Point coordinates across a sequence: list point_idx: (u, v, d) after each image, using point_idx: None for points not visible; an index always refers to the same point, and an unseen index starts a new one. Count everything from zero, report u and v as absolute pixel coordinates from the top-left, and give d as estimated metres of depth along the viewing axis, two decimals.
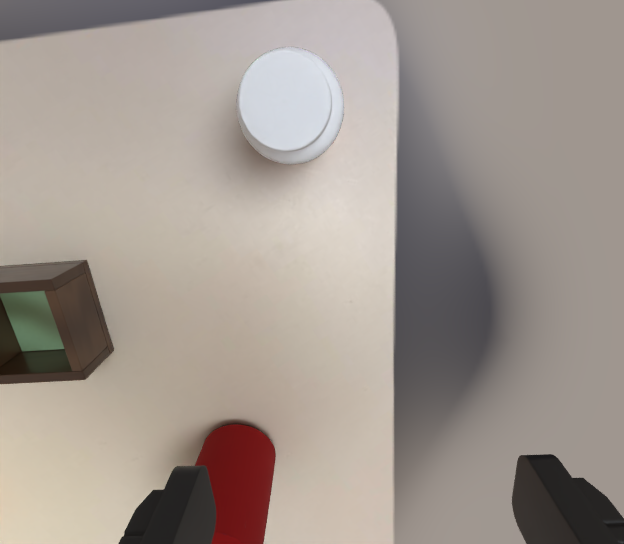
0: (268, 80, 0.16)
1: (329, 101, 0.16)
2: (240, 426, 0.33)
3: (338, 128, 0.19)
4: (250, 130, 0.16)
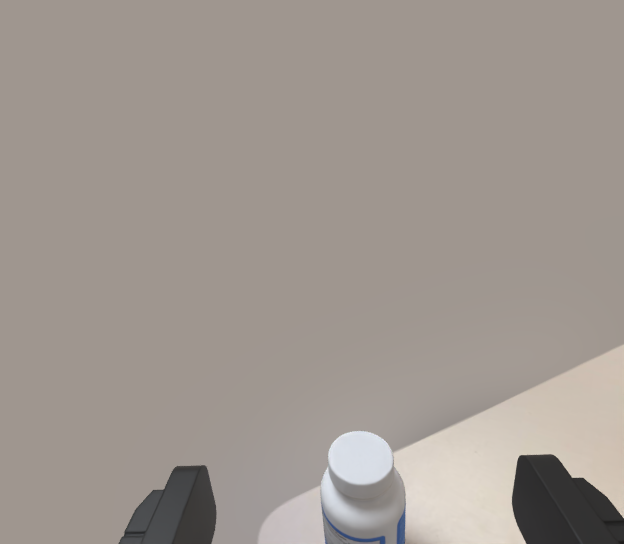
0: (353, 468, 0.22)
1: (346, 433, 0.25)
2: None
3: None
4: (389, 468, 0.22)
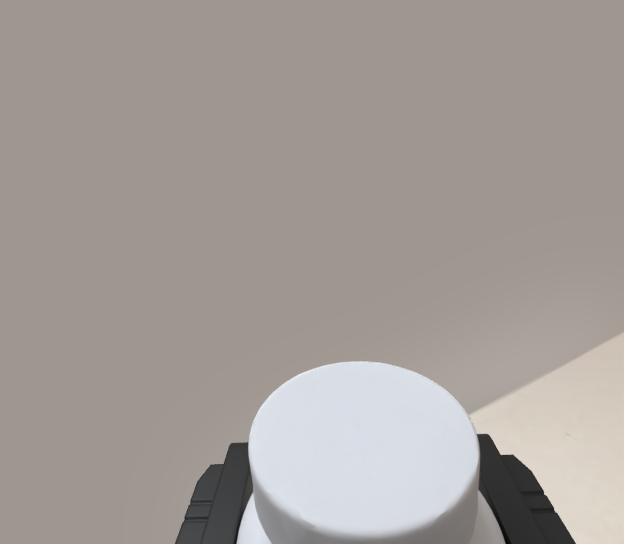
0: (333, 469, 0.06)
1: (314, 370, 0.08)
2: None
3: None
4: (472, 461, 0.06)
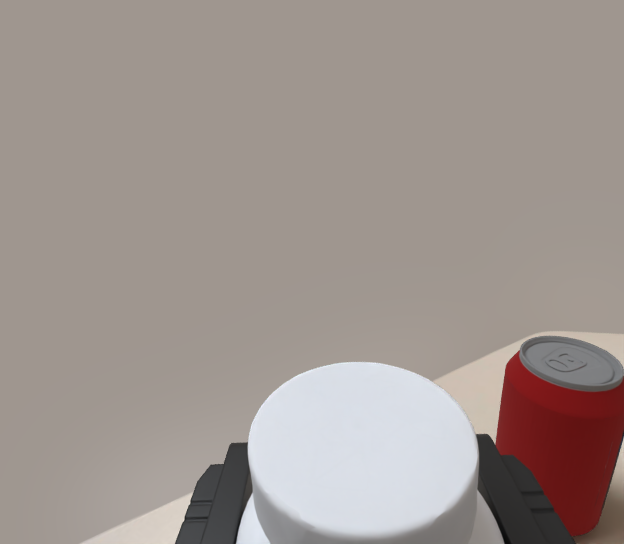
0: (332, 469, 0.06)
1: (313, 370, 0.08)
2: None
3: None
4: (471, 461, 0.06)
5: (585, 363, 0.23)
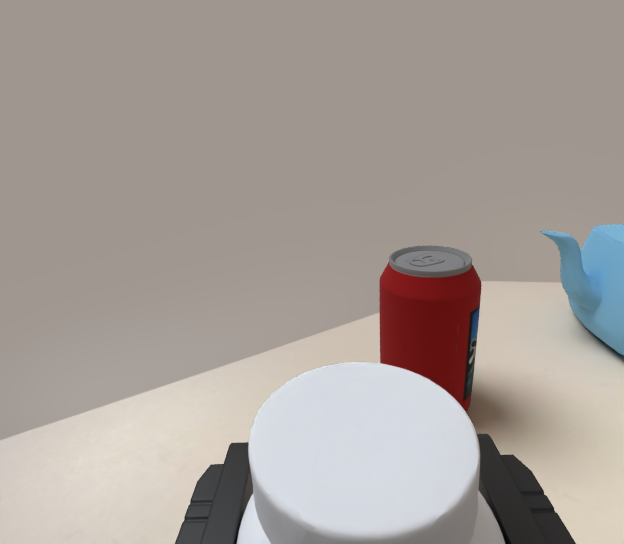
0: (334, 470, 0.06)
1: (314, 370, 0.08)
2: None
3: None
4: (472, 462, 0.06)
5: (443, 261, 0.25)
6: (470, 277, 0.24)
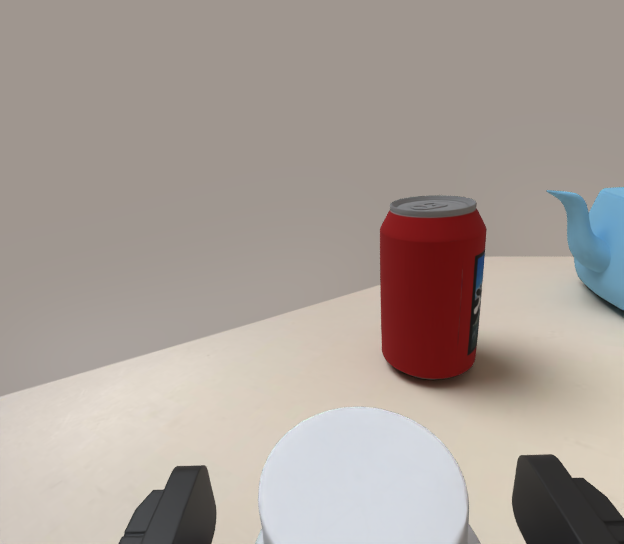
0: (336, 523, 0.06)
1: (317, 415, 0.09)
2: (386, 358, 0.27)
3: None
4: (461, 516, 0.06)
5: (446, 206, 0.24)
6: (475, 219, 0.23)
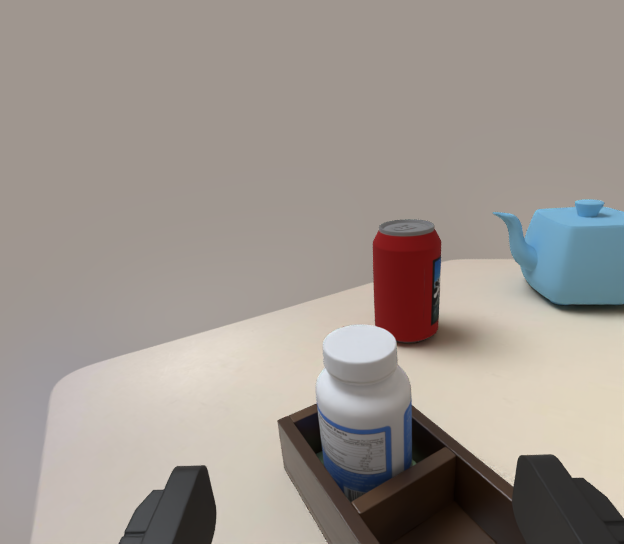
0: (351, 351, 0.20)
1: (342, 327, 0.22)
2: None
3: None
4: (392, 348, 0.19)
5: (415, 228, 0.37)
6: (432, 236, 0.36)
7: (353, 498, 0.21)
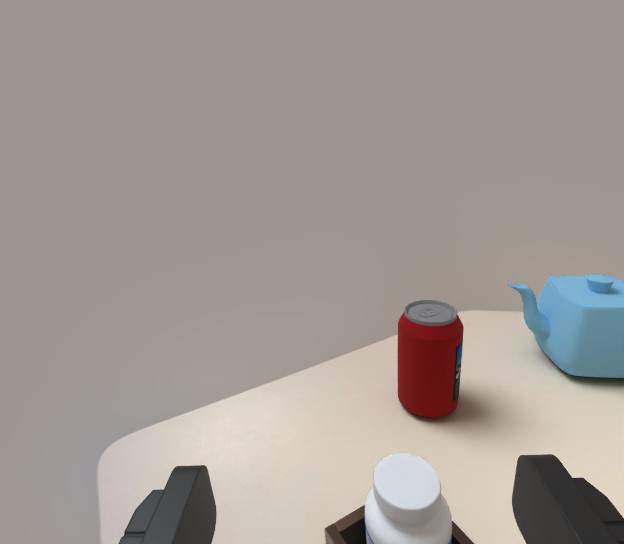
0: (401, 492, 0.22)
1: (388, 456, 0.25)
2: (401, 402, 0.43)
3: None
4: (438, 490, 0.22)
5: (439, 313, 0.40)
6: (456, 325, 0.38)
7: None
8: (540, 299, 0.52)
